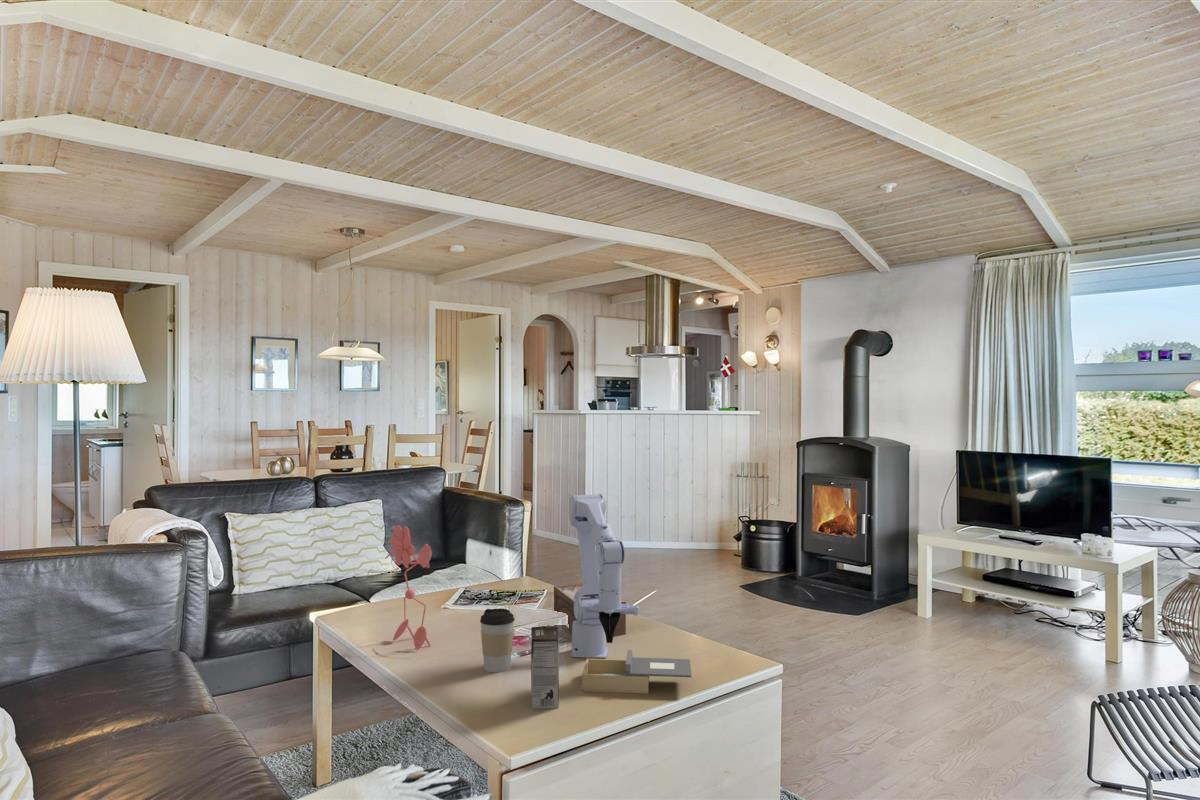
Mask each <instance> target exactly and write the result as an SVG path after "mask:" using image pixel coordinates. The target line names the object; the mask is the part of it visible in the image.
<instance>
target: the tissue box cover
mask: <svg viewBox="0 0 1200 800" xmlns="http://www.w3.org/2000/svg"><path fill="white" fill-rule="evenodd" d="M582 586H583V582H582V583H573V584H564V585H563V584H562V585H553V612H554V611H557V612H563V613H566V614H567V615H568V624H569V629H568V630H569V631H570V632H571V633H572V625H573V621H577V620H576V618H575V615H574V596H575V593H576V592H577V591H578V590H579V589H580V588H581V587H582ZM594 597H599V596H594ZM582 598H590V597H582ZM621 604H627V601H625V600H623V599H622V598H621ZM626 619H627V614H620V618H619V621H618V623H617V625H616V628H615V631H614V634H613V637H614V636H622V635H626V634H627V621H626Z"/></svg>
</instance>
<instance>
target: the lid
mask: <svg viewBox="0 0 1200 800" xmlns="http://www.w3.org/2000/svg"><path fill="white" fill-rule="evenodd" d="M625 660H626V664H625V675H635V676H649V677H663V678H665V677H669V678H692V666H691V665H692V664H691V658H670V657H668V658H665V657H660V658H659V657H638V656H637V657H636V656H634V657H633V650H632V649H628V650H627V652H626V658H625Z"/></svg>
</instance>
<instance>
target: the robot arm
mask: <svg viewBox="0 0 1200 800" xmlns="http://www.w3.org/2000/svg"><path fill="white" fill-rule="evenodd" d="M606 509H607V504H606V497H605V496H604V495H603V493H599V494H577V495H576V494H571V495H570V497H569V498H568V513H569V514H568V515H569V522H570V526H572V527H573V528H576V534H577V539H578V548H579V562H580V570H581V581H582V583H583V586H582V587H581V588H580V589H579V590H578V591H577V592H576V593H575V596H574V615H575V618H576V620H577V621H573V625H572V632H571V657H572V658H586V659H607V656H608V651H609V647H608V646H607V644H612V643H613V639H614V636H613V634H614V631H615V628H616V625H617V623H618V621H619V618H620V614H626V615H633V616H639V605H634V604H632V605H631V604H627V603H626V604H621V599H622V564H624V563H625V557H626V555H625V546H624V544H623V541H622V540H620V539H617V537H616V536H615V533H614V531H613V528H612V526H611V525H610V524H609V523H606V521H605V517H604V516H605V513H606ZM594 596H599V597H594ZM582 597H590V598H582Z"/></svg>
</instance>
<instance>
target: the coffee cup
mask: <svg viewBox="0 0 1200 800" xmlns="http://www.w3.org/2000/svg"><path fill="white" fill-rule="evenodd" d="M514 616H515V615H514V614H513V613H512V612H511V611H510V610H509V609H506V608H492V609H491V608H487V609H485V611H484V612H483V614H482V615H481V616H480V620H479V622H480V628H481V629H480V635H481V647H482V654H483V656H482V657H483V666H484V667H483V668H484V670H485V671H486V672H489V673H502V672H505V671H508V670H509V669H510V668H511V662H512V661H511V660H512V652H513V643H514V641H513V640H514V630H515V628H514V622H515V620H516V619H515V618H514Z"/></svg>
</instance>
